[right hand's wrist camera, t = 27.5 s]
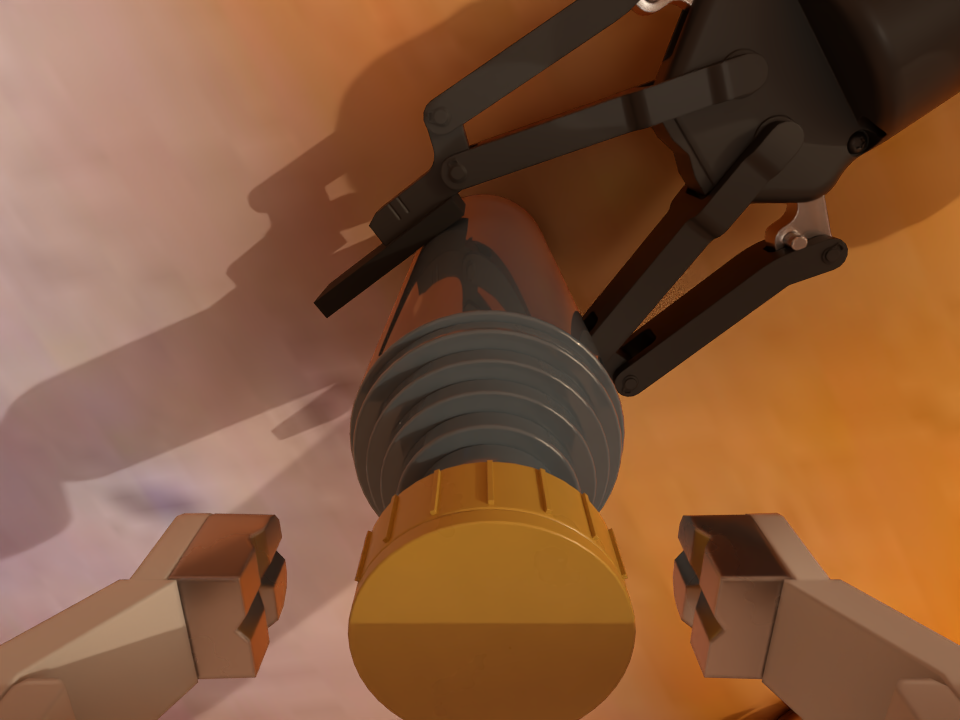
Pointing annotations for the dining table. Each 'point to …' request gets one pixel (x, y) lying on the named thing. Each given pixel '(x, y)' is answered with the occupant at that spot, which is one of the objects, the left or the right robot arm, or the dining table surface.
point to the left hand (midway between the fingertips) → (384, 364)
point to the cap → (491, 599)
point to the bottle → (486, 366)
